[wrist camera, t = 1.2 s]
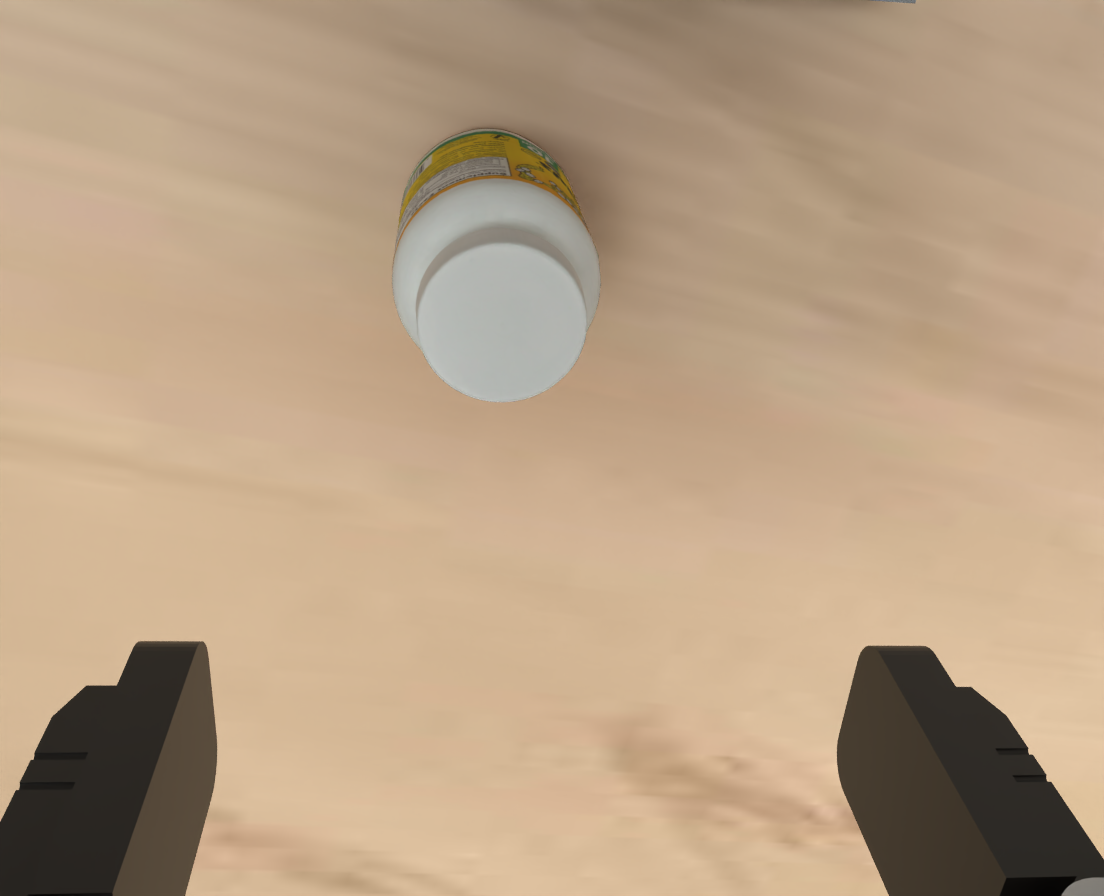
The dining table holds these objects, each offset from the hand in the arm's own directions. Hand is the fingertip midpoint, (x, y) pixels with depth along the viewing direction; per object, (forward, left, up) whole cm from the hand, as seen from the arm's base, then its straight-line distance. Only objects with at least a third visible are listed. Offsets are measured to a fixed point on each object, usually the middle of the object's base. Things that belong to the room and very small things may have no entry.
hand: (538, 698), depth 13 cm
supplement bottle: (0, 0, -23) cm, 23 cm away
